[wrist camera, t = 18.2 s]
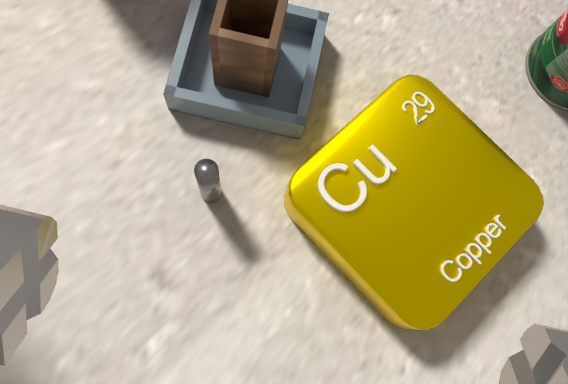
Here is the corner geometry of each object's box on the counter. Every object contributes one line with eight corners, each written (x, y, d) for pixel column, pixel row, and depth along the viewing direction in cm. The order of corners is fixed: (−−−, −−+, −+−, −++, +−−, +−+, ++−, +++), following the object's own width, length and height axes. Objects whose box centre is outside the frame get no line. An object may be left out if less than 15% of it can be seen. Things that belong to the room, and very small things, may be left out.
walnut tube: (214, 85, 43) (208, 33, 35) (227, 35, 44) (224, -25, 36) (269, 97, 43) (275, 49, 35) (280, 48, 44) (289, -10, 36)
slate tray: (168, 109, 43) (163, 94, 40) (198, 3, 45) (195, -19, 42) (300, 139, 43) (304, 126, 40) (323, 32, 45) (329, 13, 42)
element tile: (405, 340, 40) (427, 344, 36) (272, 200, 42) (276, 186, 37) (526, 211, 44) (560, 198, 39) (398, 86, 45) (416, 59, 41)
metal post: (198, 200, 41) (191, 178, 35) (203, 180, 41) (197, 156, 35) (218, 204, 41) (215, 184, 35) (223, 185, 41) (220, 161, 35)
